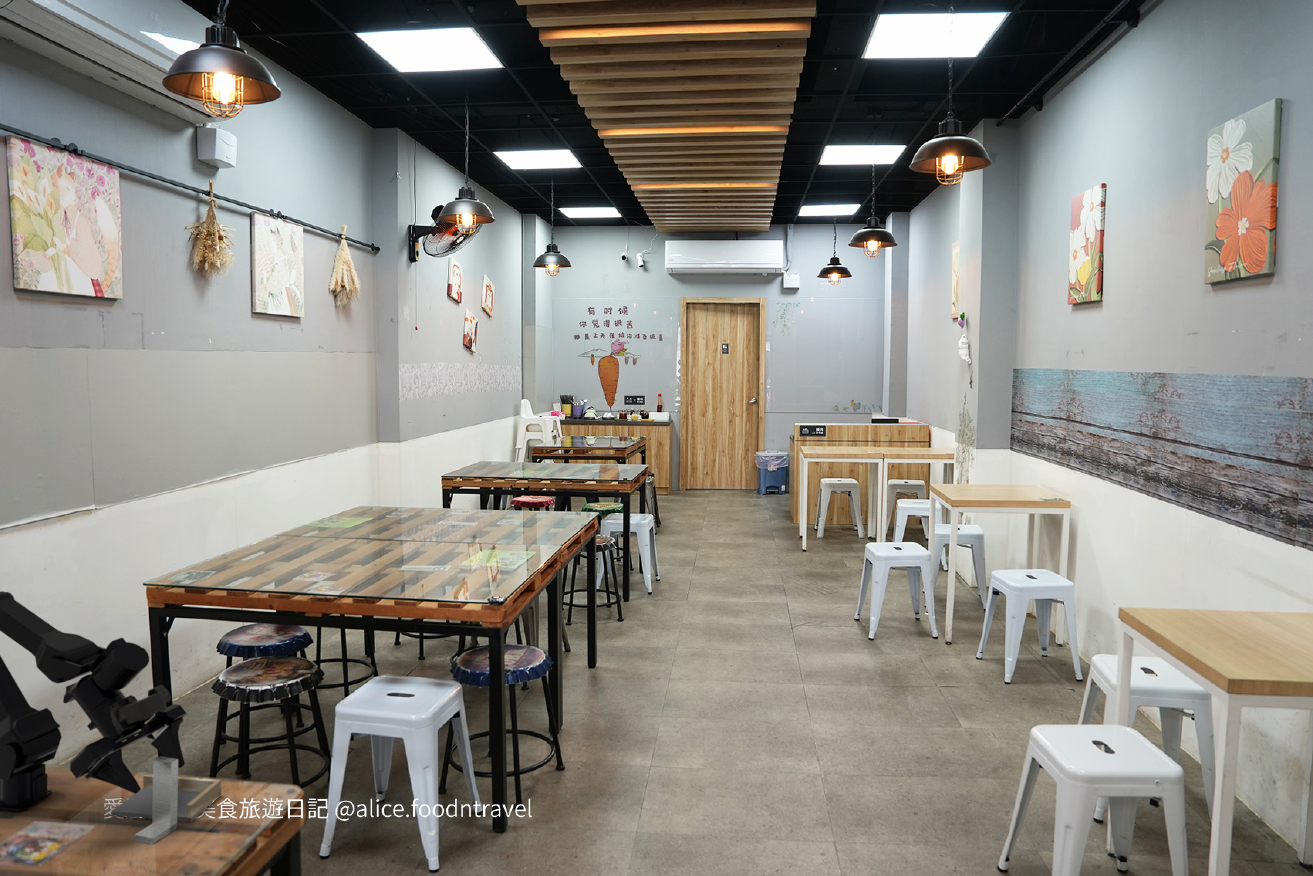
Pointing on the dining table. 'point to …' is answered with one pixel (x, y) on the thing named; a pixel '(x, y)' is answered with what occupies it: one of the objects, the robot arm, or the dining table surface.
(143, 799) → the charcoal mat
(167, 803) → the aluminium bracket
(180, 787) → the wooden corner walls
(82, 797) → the dining table surface
